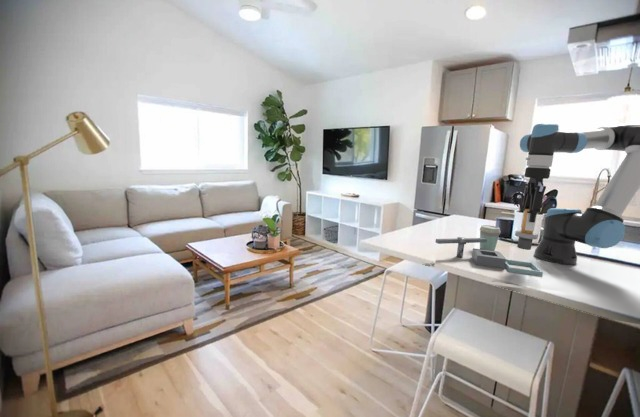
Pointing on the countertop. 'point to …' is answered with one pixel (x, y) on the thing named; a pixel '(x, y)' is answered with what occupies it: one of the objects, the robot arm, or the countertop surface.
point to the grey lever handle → (461, 243)
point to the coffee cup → (489, 237)
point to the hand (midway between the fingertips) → (527, 228)
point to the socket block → (488, 258)
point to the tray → (533, 272)
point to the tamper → (525, 235)
